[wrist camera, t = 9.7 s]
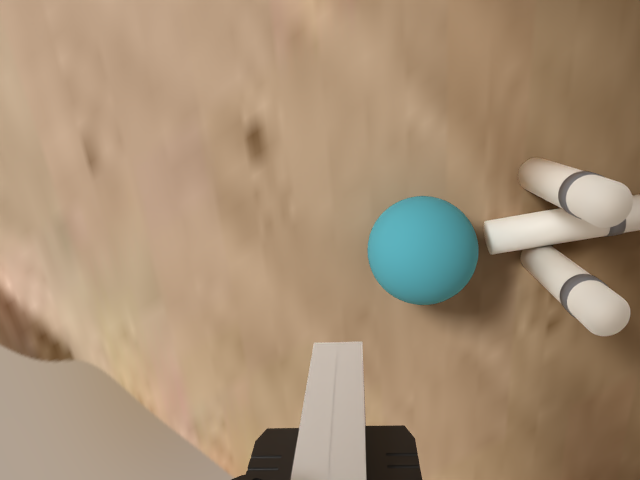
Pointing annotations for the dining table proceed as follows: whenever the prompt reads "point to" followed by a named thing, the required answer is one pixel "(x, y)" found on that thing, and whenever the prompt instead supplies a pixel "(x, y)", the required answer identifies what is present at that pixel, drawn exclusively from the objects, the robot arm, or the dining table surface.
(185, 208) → the dining table surface
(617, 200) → the pin
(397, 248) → the teal ball
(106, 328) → the dining table surface
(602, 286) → the pin
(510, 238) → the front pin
